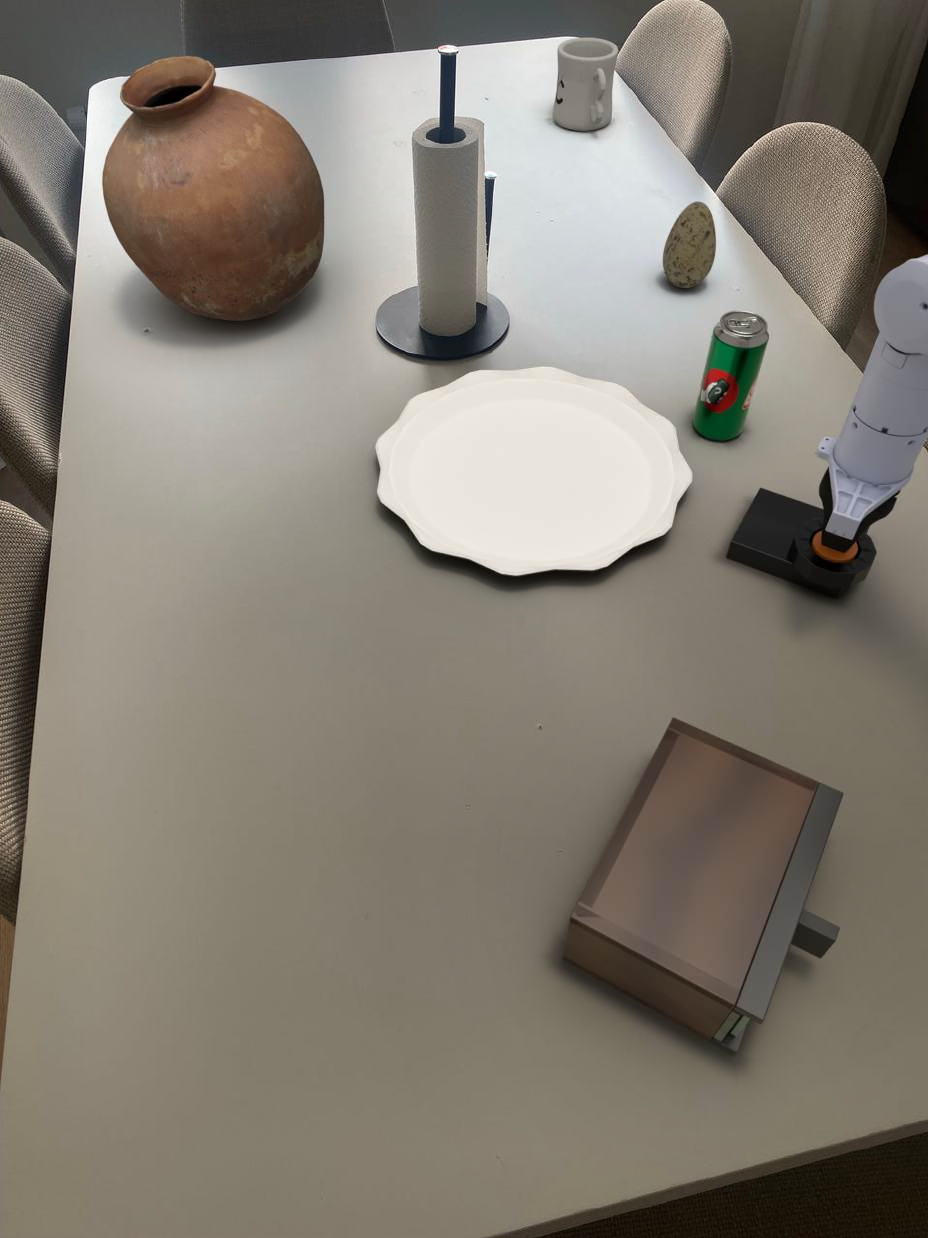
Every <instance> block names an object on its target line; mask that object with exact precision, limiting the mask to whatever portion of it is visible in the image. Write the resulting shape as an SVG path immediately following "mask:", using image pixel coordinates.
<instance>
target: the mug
mask: <svg viewBox="0 0 928 1238" xmlns="http://www.w3.org/2000/svg"><path fill="white" fill-rule="evenodd" d="M556 51H557V80H556V91H555V98H554V104H553V107H552V117H553V121H554V122H555V123H556V124H557V125H559V126H560V127H562V128H564V129H567V130H571V131H578V132H579V131H581V132H585V131H586V132H588V131H596V130H600V129H602V128H604V127H605V126H607V125H608V124H609V123H610V122H611V120H612V117H613V87H614V75H615V69H616V66H617V60H618V55H619V47H618V46H617V45H616V44H615V43H614V42H612V41H609V40H607V39H604V38H603V39H602V38H597V37H575V38H570V39H567V40H564V41H562V42H561V43H560V44H559V45H558V46H557V49H556Z"/></svg>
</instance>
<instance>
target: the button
mask: <svg viewBox="0 0 928 1238" xmlns="http://www.w3.org/2000/svg"><path fill="white" fill-rule="evenodd" d="M821 534H822V531H820V532H818V533H817V534H816V535H815V536H814V538H813V541H812V543H811V549H812V550H813V551H814V552H815V553H816V554H817V555H818V556H820V557H821V558H823V559H825V560H828V561H831V562H834V563H849V562H851V561H853V560H854V558H855V555H856V553H857V551H858V546H857V543H856V542H855V543H854V545H853V546H852V547H851V548H850V549H849V550H848V551H847V552H846V553H842V552H840V551H837V550H834V549H831V548H828V547H826V546H823V545H822V544H821Z"/></svg>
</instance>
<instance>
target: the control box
mask: <svg viewBox="0 0 928 1238" xmlns="http://www.w3.org/2000/svg"><path fill="white" fill-rule="evenodd" d="M823 518H824V510H823V507H822V508H821V507H818V506H815V505H813V504H810V503H807V502H805V501H801V500H798V499H796V498H792V497H789V496H787V495H784V494H781V493H778V492H775V491H772V490H769V489H766V488H763V487H760V488H759V489H758V491H757V493H756V494H755V496H754V498H753V499H752V501H751V504H750V505H749V507H748V509H747V510H746V512H745V514H744V516H743V517H742V519H741V521H740V524H739V525H738V526H737V528H736V531H735V532H734V534H733V536H732V538H731V540H730V542H729V544H728V549H727V551H726V554H725V558H726V559H727V560H730V561H733V562H736V563H738V564H741V565H744V566H747V567H749V568H752V569H754V570H757V571H760V572H762V573H765V574H768V575H770V576H774V577H776V578H778V579H781V580H783V581H787V582H789V583H791V584H794V585H797V586H799V587H802V588H805V589H807V590H810V591H813V592H815V593H816V592H817V593H818V594H821V595H824V596H827V597H829V598H831V599H834V600H836V601H837V600H839V599H840V598H841V595H842V593H843V591H844V588H845V589H849V588H852V587H855V586H856V585H857V584H859V583H861V582H863V581H865V580H866V579H867V577H868V575H869V572H870V570H871V568H872V566H873V564H874V561H875V559H876V556H877V554H878V551H877V549H876V547H875V544H874V542H873V539H872V537H871V536H870V535H869V534H868V532H869V530H870V527H871V526H869V527H868V528H867V529H866V530H865V531H864V532H863V533H862V535H861V536H860V537H859V538H858V540H857V541H856V543H857V546H858V551H857V553H856V555H855V558H854V560H853V561H851V562H849V563H834V562H831V561H828V560H825V559H823V558H821V557H820V556H818V555H817V554H816V553H815V552H814V551H813V550H812V549H811V543H812V541H813V538H814V536H815V535H816V534H817V533H818V532H820V531H822V526H823Z"/></svg>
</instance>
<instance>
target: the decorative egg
mask: <svg viewBox="0 0 928 1238" xmlns="http://www.w3.org/2000/svg"><path fill="white" fill-rule="evenodd" d="M716 250H717V233H716V226H715V220H714V217H713V214H712V211H711V209H710V208H709V206H708V205H707V204H706V203H704V202H702V201H694V202H692V203H689V204H688V205H687V206H686V207H685V208H683V210H682V211H681V213H680V214H679V215H678V216H677V218H676V220H675V221H674V223H673V225H672V227H671V229H670V231H669V233H668V236H667V238H666V241H665V244H664V248H663V252H662V269H663V272H664V275H665V276H666V279H667V280H668V281H669V282H670V283H671V284H672V285H673V286H675V287H677V288H681V289H690V288H694V287H696V286H698V285H699V284H701V283H702V282H703V281H704V280H706V278H707V276H708V275H709V274H710V272H711V270H712V268H713V266H714V263H715V258H716V253H717V252H716Z"/></svg>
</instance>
